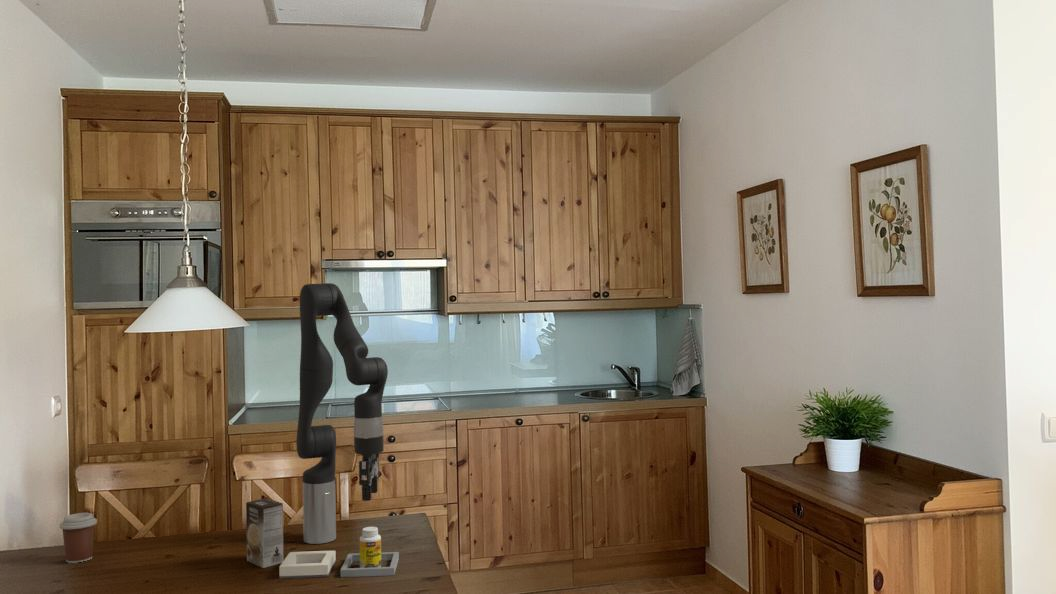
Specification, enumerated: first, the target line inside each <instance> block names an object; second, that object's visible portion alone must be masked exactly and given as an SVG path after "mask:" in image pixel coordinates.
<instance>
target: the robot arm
mask: <svg viewBox="0 0 1056 594" xmlns="http://www.w3.org/2000/svg"><path fill="white" fill-rule="evenodd" d="M299 316H300V318H299V321H300V343H301V344H300V360H299V361H300V362H299V407H298V409H299V410H298V417H297V418H298V421H297V428H296V429H297V430H296V431H297V432H296V444H295V445H296V452H297V455H298V457H299V459H301V460H309V459H317V458H319V459H320V461H319V462H317V464H315V465H313V466H312V467H310V468H307V469H306V470H304V471H303V473H302V514H303V515H302V520H303V521H302V524H303V527H302V529H303V532H302V533H303V542H304V543H306V544H311V545H313V544H314V545H315V544H317V545H320V544H327V543H331V542H333V541H335V540H337V517H336V516H337V515H336V511H337V510H336V509H337V508H336V503H337V502H336V458H337V457H336V451H337V434H336V430H335V428H334V426H332V425H331V424H323V425H322V424H321V425H313V426H312V422H313V419H314V416H315V413H316V411H317V409H318V407H319V406H320V404H321V403H322V402H323V400H324V398H325V397H326V395H327V394H328V392H329V391H330V389H331V387H332V386H333V385H332V384H333V378H334V377H333V375H334V374H333V373H334V361H333V357H332V355H331V353H330V351H329V350H328V348H327V346H326V345H325V343H324V342H323V341H322V338H321V336H320V335H319V331H318V327H317V317H324V316H326V317H327V316H333V317H334V318H335V319H336V324H335V327H334V330H333V342H334V345H335V347H336V349H337V350H338V351H339V354H340V355H341V356H342V359H343V364H344V367H345V373H346V378H347V380H348V381H349V382H350V383H351V384H352V385H354V386H358V387H359V386H368V389H367V390H366V391H365V392H364V393H360V394H358V395H356V396H355V397H354V401H353V406H354V422H353V448H354V450H353V451H354V453H355V454H357V455H361V456H362V458H361V460H360V461H358V484H359V486H360V487H361V499H362V501H364V502H367V501H371V500H372V494H377V493H378V489H379V488H378V478H379V475H380V472H381V471H380V454H381V453H383V452H384V451H385V449H384V448H385V446H384V422H383V417H382V416H383V415H382V413H383V410H382V409H383V406H382V400H383V395H384V393H385V392H384V391H385V387H386V384H387V383H386V382H387V380H388V373H389V372H388V365H387V363H386V361H385V359H383V357H382V358H381V357H380V356H379V357H378V356H375V357H373V356H372V357H368V355H369V347H368V345H367V343H366V342H365V341H364V339H363V337H362V335H361V334H360V332H359V330H358V329H357V328H356V326H355V323H354V320H353V318H352V315H351V312H350V309H349V308H348V305H347V302H346V299H345V298H344V294H343V292H342V291H341V289H340V287H339V286H338V285H337V284H335V283H330V282H329V283H306V284H304V285H303V286H302V287H301V289H300V292H299Z"/></svg>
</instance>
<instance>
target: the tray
mask: <svg viewBox="0 0 1056 594" xmlns="http://www.w3.org/2000/svg"><path fill="white" fill-rule="evenodd" d="M399 558H400V552H399V551H391V552H390V551H389V552H382V551H381V562H382V561H391V562H390V565H389V566H381V567H371V568H360V567H353V568H352V567H351V566H352V564H353V562H354V563H355V562H360V552H358V553H348V554H347V556H346V558H345V560H344V562H343V564H342V566H341V568H340V578H357V577H358V578H359V577H360V578H361V577H379V576H380V577H381V576H382V577H384V576H395V573H396V569H397V567H398V564H399V563H398V562H399V561H400V560H399Z"/></svg>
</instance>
